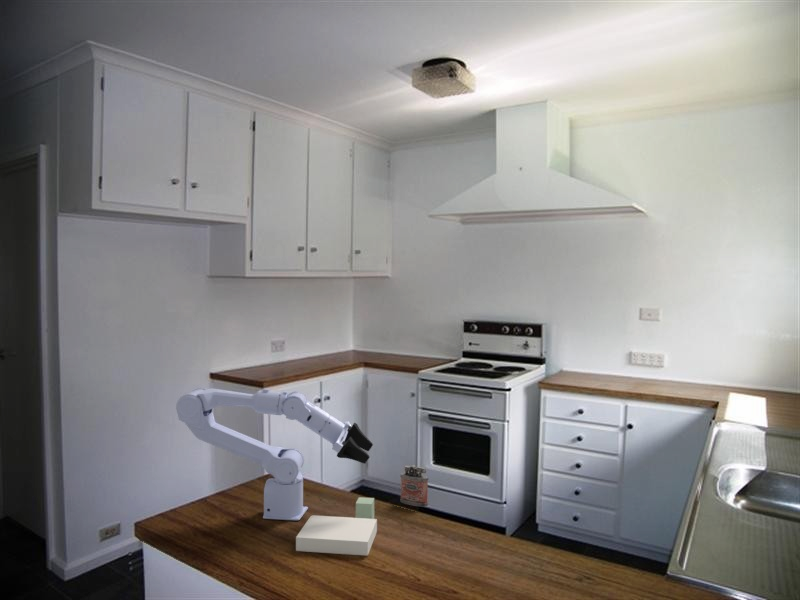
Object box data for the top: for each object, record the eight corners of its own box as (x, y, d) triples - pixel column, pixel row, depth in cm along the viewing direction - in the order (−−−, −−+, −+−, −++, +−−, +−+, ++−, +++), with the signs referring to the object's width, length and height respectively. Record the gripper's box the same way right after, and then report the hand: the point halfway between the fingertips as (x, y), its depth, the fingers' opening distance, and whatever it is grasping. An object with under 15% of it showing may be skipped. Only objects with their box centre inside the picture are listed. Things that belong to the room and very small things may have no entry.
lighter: (397, 502, 150) (398, 465, 150) (403, 498, 153) (403, 462, 153) (424, 507, 146) (425, 470, 146) (430, 503, 149) (430, 466, 149)
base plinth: (295, 550, 121) (296, 537, 121) (311, 527, 133) (311, 515, 133) (367, 555, 119) (367, 541, 119) (376, 531, 131) (377, 519, 131)
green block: (355, 523, 136) (355, 503, 136) (358, 516, 140) (358, 497, 140) (371, 524, 136) (371, 504, 136) (374, 517, 140) (374, 498, 139)
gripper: (327, 422, 133) (374, 453, 134) (337, 403, 148) (380, 430, 148) (312, 445, 134) (358, 475, 135) (323, 424, 149) (366, 451, 149)
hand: (369, 453), depth 141 cm, fingers open, 7 cm apart
